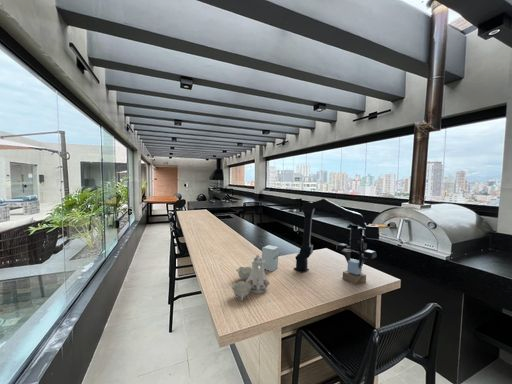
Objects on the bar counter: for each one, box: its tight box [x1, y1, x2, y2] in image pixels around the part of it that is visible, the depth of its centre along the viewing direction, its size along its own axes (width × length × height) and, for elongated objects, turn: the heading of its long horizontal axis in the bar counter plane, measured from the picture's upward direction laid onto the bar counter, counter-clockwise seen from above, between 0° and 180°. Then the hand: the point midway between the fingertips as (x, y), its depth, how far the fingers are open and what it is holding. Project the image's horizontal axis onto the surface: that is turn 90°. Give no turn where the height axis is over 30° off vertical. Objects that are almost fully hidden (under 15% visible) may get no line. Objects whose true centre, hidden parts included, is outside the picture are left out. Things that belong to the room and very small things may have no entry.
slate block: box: [346, 258, 363, 275], centre depth 113 cm, size 5×5×6 cm
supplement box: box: [261, 244, 279, 272], centre depth 125 cm, size 7×7×13 cm
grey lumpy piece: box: [231, 254, 270, 302], centre depth 100 cm, size 28×17×17 cm, turn 3°
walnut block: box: [342, 270, 367, 286], centre depth 113 cm, size 8×8×4 cm
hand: (354, 266), depth 113 cm, fingers open, 6 cm apart
